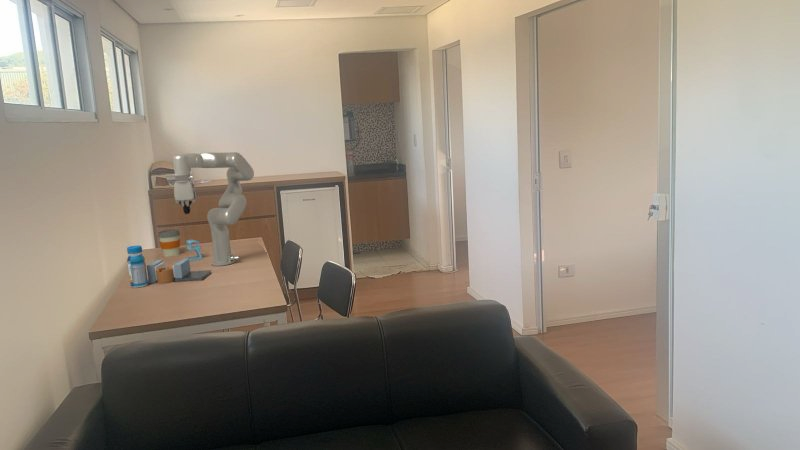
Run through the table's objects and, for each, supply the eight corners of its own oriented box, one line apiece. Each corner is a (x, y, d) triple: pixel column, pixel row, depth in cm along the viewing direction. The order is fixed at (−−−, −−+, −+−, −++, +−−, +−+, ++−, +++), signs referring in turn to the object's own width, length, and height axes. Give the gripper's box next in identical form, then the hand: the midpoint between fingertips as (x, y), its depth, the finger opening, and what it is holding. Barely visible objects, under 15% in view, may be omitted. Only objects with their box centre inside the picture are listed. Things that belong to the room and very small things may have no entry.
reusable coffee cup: (174, 252, 394) (171, 229, 391) (186, 253, 386) (183, 230, 384) (156, 256, 384) (153, 232, 381) (168, 258, 376) (165, 233, 374)
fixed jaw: (166, 276, 327) (164, 259, 326) (157, 282, 314) (155, 265, 313) (158, 276, 327) (156, 260, 326) (148, 283, 314) (146, 265, 313)
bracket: (171, 283, 311) (169, 270, 310) (154, 284, 311) (153, 271, 310) (184, 275, 329) (182, 262, 328) (168, 276, 329) (166, 263, 328)
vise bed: (211, 272, 328) (210, 270, 328) (201, 280, 313) (201, 277, 312) (185, 274, 329) (185, 271, 328) (174, 282, 313) (174, 279, 313)
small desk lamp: (203, 258, 367) (201, 239, 365) (189, 261, 363) (187, 241, 361) (200, 257, 374) (197, 237, 372) (186, 259, 369) (183, 239, 367)
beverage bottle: (140, 288, 304) (134, 248, 301) (126, 287, 307) (121, 248, 304) (152, 283, 312) (147, 245, 309) (139, 283, 315) (133, 244, 312)
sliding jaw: (190, 271, 327) (189, 258, 326) (182, 277, 314) (180, 264, 313) (182, 272, 327) (180, 259, 326) (173, 278, 314) (172, 265, 313)
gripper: (199, 177, 326) (203, 211, 329) (171, 179, 326) (175, 213, 329) (195, 178, 319) (199, 213, 322) (166, 180, 319) (170, 215, 322)
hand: (187, 213), depth 325 cm, fingers closed
